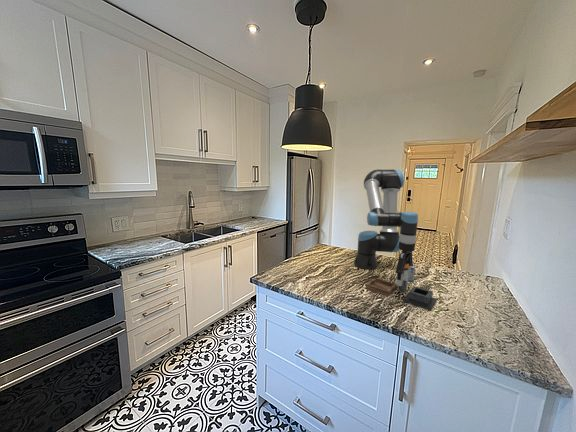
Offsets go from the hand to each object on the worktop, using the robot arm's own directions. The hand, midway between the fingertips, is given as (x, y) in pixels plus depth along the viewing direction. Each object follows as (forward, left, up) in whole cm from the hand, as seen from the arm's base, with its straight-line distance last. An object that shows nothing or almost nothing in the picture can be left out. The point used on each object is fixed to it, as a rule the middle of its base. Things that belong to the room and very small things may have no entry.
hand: (403, 281), depth 129 cm
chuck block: (+6, +10, -5) cm, 13 cm away
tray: (+6, -9, -5) cm, 12 cm away
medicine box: (-16, -3, -6) cm, 17 cm away
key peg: (0, 0, -5) cm, 5 cm away
